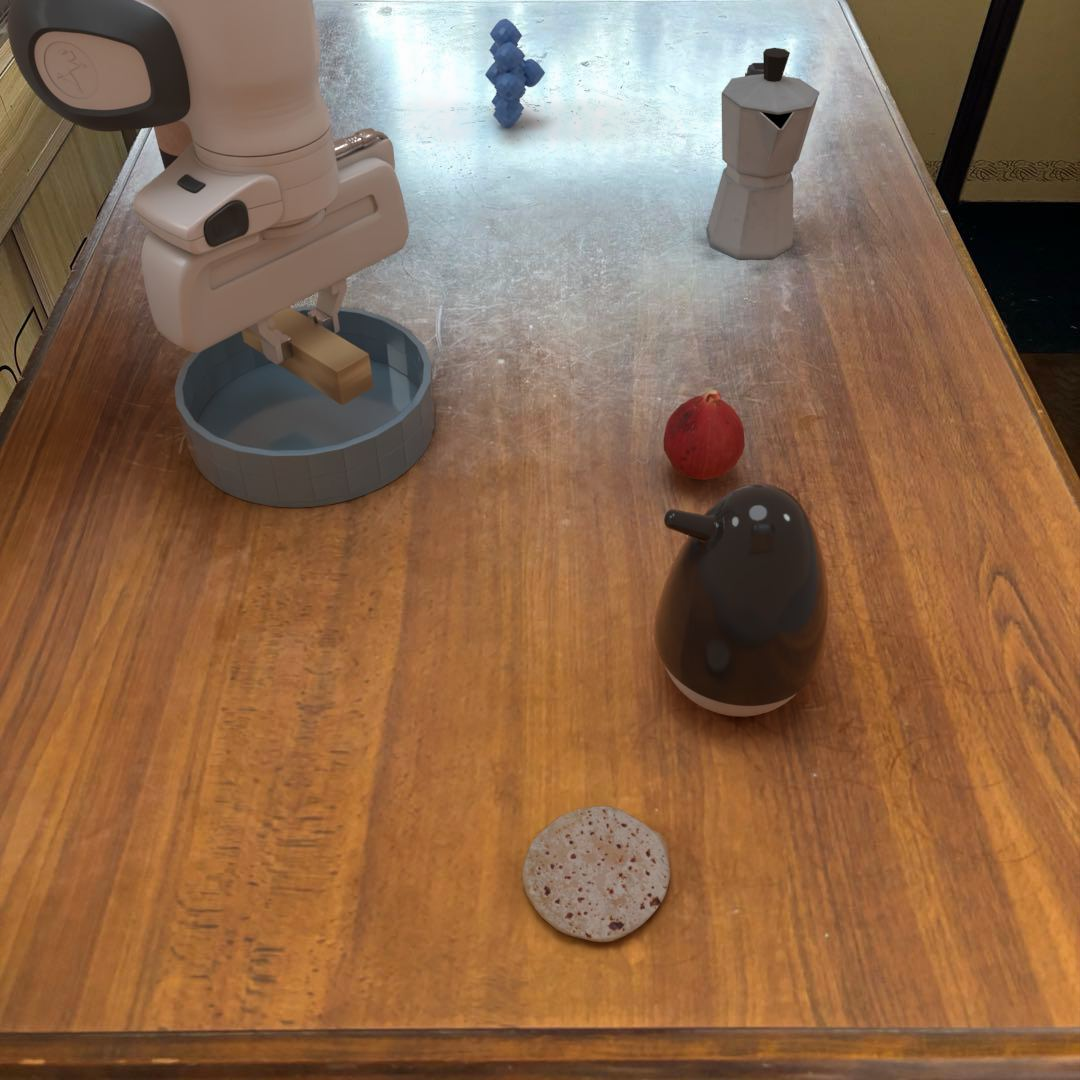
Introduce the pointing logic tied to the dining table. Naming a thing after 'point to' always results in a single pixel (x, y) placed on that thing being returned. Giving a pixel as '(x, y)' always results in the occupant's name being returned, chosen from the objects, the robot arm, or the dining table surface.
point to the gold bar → (320, 357)
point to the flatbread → (596, 873)
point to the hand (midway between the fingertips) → (302, 345)
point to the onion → (704, 437)
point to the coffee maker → (760, 159)
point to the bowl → (307, 418)
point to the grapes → (510, 73)
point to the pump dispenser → (744, 603)
